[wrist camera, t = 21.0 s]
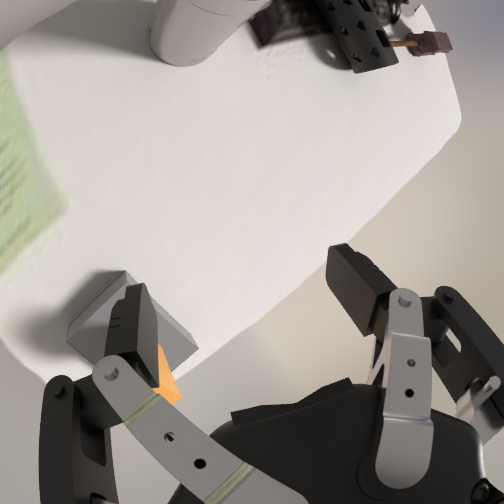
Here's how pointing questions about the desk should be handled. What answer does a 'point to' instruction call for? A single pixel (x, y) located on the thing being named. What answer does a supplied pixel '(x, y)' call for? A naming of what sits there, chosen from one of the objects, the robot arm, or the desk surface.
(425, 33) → the hammer
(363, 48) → the muzzle brake
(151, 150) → the desk surface
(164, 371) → the tall orange cuboid
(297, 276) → the desk surface
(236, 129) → the desk surface
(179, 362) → the flat gray square block
